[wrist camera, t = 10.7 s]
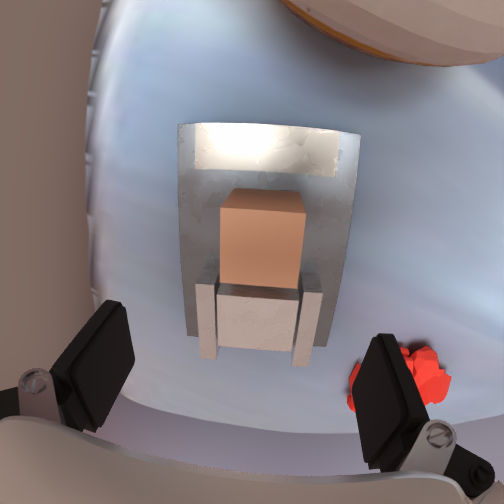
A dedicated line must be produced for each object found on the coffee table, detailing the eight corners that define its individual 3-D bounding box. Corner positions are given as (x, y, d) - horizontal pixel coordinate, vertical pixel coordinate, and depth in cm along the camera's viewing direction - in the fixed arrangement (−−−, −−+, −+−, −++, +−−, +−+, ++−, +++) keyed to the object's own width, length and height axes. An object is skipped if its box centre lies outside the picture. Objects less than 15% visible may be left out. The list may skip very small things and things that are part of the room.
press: (183, 124, 23) (158, 124, 18) (356, 134, 22) (377, 136, 17) (190, 326, 31) (176, 362, 26) (324, 337, 30) (330, 374, 25)
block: (234, 187, 23) (220, 207, 18) (299, 192, 23) (306, 213, 17) (232, 247, 25) (219, 282, 20) (293, 251, 25) (296, 288, 19)
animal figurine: (430, 396, 34) (441, 421, 29) (337, 400, 34) (342, 431, 30) (467, 335, 29) (485, 361, 25) (366, 334, 30) (378, 366, 25)
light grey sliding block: (225, 270, 26) (216, 294, 22) (296, 275, 25) (298, 300, 22) (225, 317, 28) (218, 345, 24) (290, 322, 27) (291, 351, 24)
